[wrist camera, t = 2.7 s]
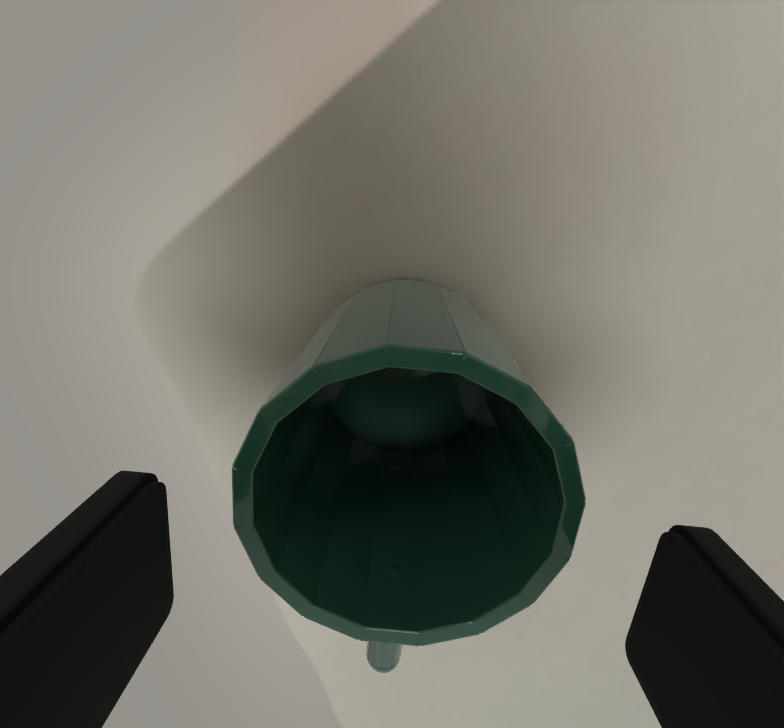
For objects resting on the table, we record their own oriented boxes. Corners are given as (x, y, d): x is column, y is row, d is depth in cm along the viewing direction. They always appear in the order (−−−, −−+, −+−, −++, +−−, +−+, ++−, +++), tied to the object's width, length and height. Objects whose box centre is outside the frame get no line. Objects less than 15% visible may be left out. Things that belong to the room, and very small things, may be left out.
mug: (317, 269, 17) (227, 328, 8) (512, 288, 17) (624, 367, 8) (308, 502, 20) (237, 717, 12) (471, 518, 20) (520, 744, 12)
